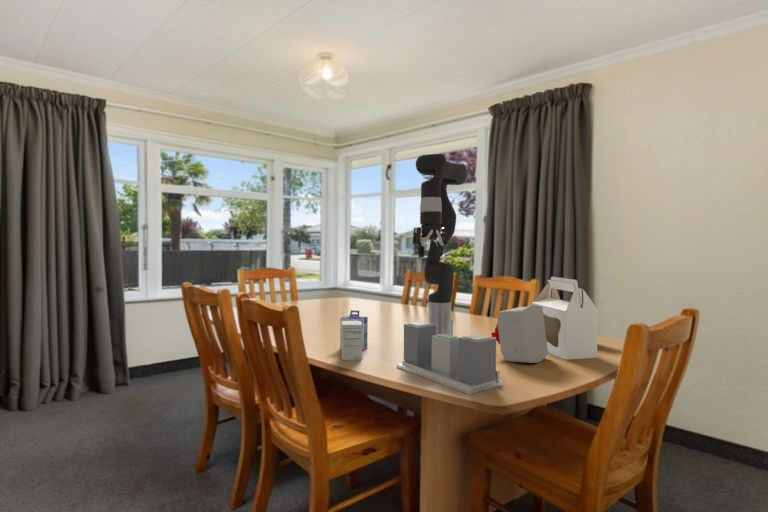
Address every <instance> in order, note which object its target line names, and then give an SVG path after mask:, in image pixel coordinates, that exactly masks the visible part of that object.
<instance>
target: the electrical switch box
mask: <svg viewBox="0 0 768 512" xmlns="http://www.w3.org/2000/svg"><path fill="white" fill-rule="evenodd" d="M491 338H496V342H497V343H498V344H499V345H500V346H499V347H500V352H501V354H502V357H503V359H504V361H505V362H509V363H510V362H511V363H524V364H525V363H529V364H534V363H535V364H536V363H537V364H538V363H541V362H542V361H543V360H544V359H546V357H548V356H549V353H548V348H547V340H546V332H545V324H544V316H543V308H542V306H538V305H532V304H529V305H528V306H520V307H519V306H518V307H515V308H514V307H513V308H510V309H505V310H500V311H499V312H498V316H497V323H496V326H495V329H494V332H491Z"/></svg>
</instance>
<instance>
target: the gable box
mask: <svg viewBox="0 0 768 512" xmlns="http://www.w3.org/2000/svg"><path fill="white" fill-rule="evenodd" d="M547 282H548V283H547V284H546V285H545V286H544V287H543V288H542V290H541V291H540V292H539V294H538V295H537V296H536V298H534V301H532V304H531V305H538V306H542V308H543V316H544V324H545V332H546V340H547V348H548V354H551V355H553V356H556V357H558V358H559V359H563V360H565V361H566V360H567V361H569V360H585V359H586V360H587V359H597V358H598V335H599V334H598V331H599V328H598V326H599V322H598V321H599V310H598V308H597V306H595V304H594V303H593V301H592V300H591V298H590V297H589V295H588V294H587V292H586V291H585V290H584V289H583V288H580V287H579V286H580V284H579V280H577V279H574V278H566V277H560V276H559V277H558V276H551V277H550V279H547ZM558 290H559V291H565V292H572V295H571V297H570V299H569V301H568V300H564V299H561V298H560V294H559V292H558Z"/></svg>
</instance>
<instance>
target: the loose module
mask: <svg viewBox="0 0 768 512" xmlns="http://www.w3.org/2000/svg"><path fill="white" fill-rule="evenodd" d="M459 338H460V337H458V336H455V335H453V336H452V335H448V334H438V335H434V336H432V367H431V368H434V369H437V370H440V371H443V372H446V373H449V374H451V373H455V372H458V347H459Z"/></svg>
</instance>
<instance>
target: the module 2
mask: <svg viewBox="0 0 768 512" xmlns="http://www.w3.org/2000/svg"><path fill="white" fill-rule="evenodd" d="M458 338H459V347H458V379H459V380H462V381H465V382H468V383H471V384H474V385H476V386H477V385H480V384H484V383H488V382H491V381H495V380H496V370H497V340H496V338H495V337H492V336H489V335H483V334H479V333H476V334H470V335H465V336H464V335H463V336H460V337H458Z"/></svg>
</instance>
